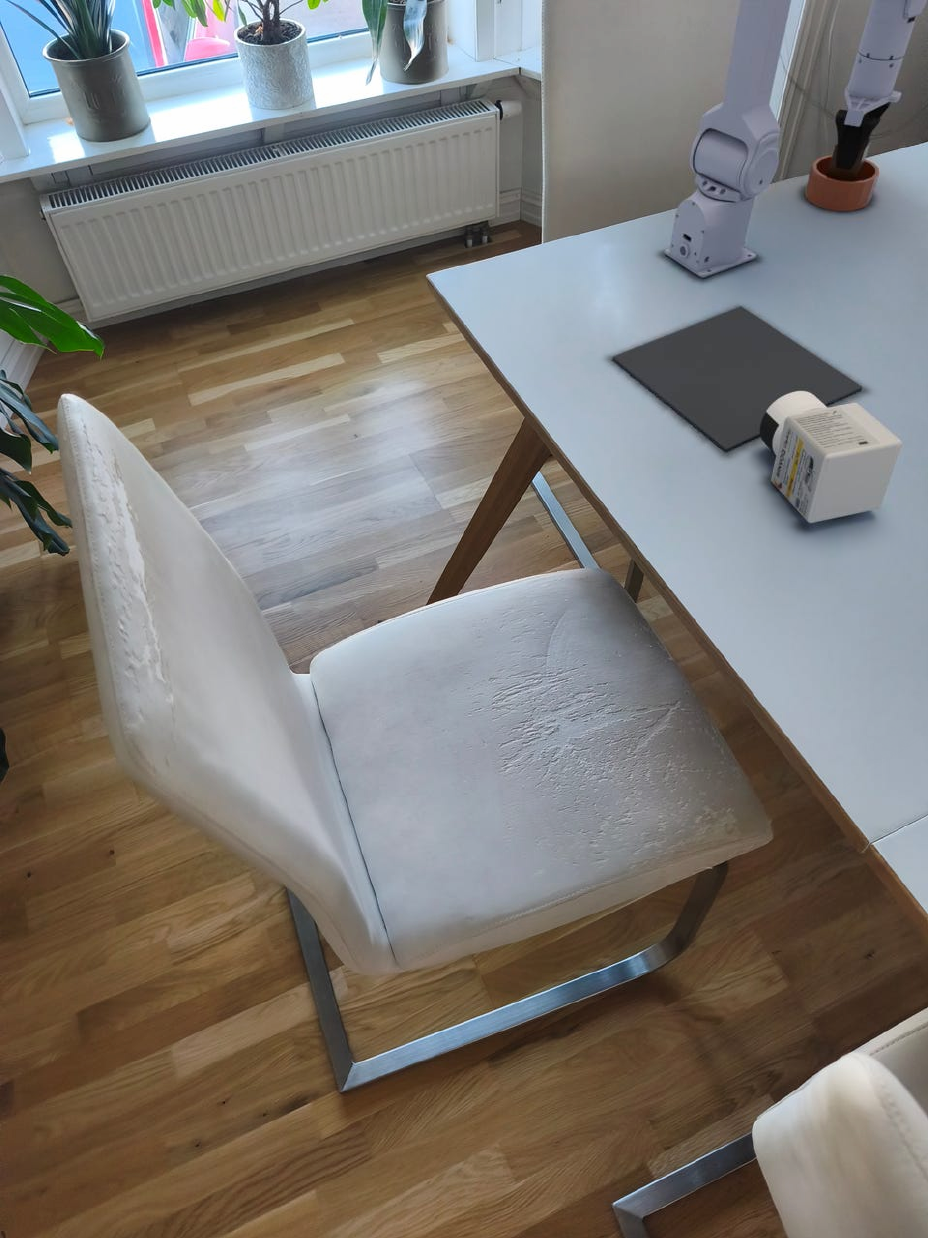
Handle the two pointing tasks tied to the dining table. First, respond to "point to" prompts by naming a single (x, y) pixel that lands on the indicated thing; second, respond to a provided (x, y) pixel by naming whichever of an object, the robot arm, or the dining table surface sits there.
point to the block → (856, 169)
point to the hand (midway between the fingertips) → (847, 161)
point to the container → (828, 456)
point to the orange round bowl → (840, 187)
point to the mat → (731, 374)
